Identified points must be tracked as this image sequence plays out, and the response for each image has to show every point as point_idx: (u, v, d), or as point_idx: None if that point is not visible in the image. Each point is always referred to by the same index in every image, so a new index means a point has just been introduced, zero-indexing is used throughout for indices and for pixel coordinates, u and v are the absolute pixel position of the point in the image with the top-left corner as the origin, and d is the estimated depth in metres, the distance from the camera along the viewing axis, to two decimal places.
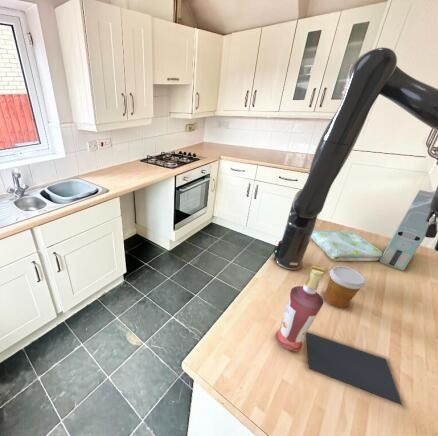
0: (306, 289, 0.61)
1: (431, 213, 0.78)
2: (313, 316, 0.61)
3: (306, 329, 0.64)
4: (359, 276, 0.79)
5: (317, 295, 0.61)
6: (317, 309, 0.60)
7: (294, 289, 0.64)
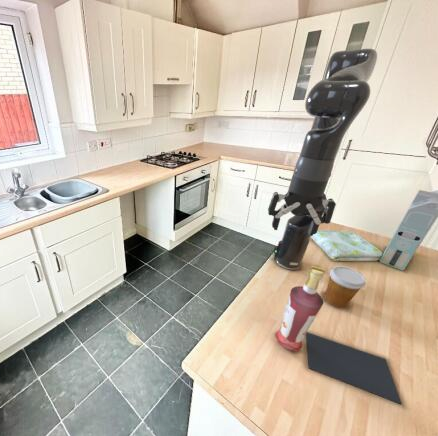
0: (306, 289, 0.61)
1: None
2: (313, 316, 0.61)
3: (306, 329, 0.64)
4: (359, 276, 0.79)
5: (317, 295, 0.61)
6: (317, 309, 0.60)
7: (294, 289, 0.64)
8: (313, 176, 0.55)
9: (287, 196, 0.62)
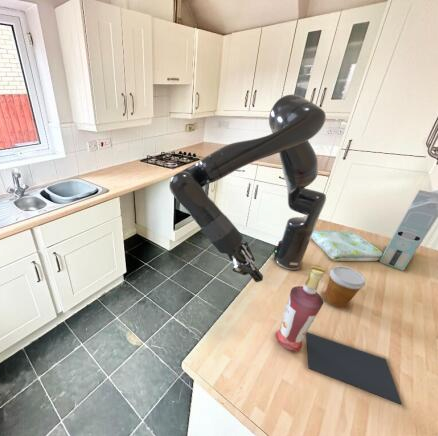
0: (306, 289, 0.61)
1: (244, 266, 0.62)
2: (313, 316, 0.61)
3: (306, 329, 0.64)
4: (359, 276, 0.79)
5: (317, 295, 0.61)
6: (317, 309, 0.60)
7: (294, 289, 0.64)
8: None
9: None
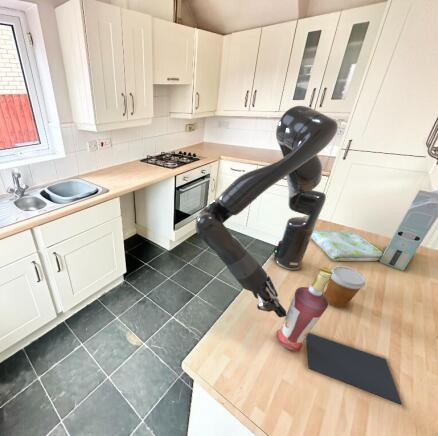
0: (312, 290, 0.60)
1: (269, 304, 0.64)
2: (317, 318, 0.61)
3: (308, 330, 0.64)
4: (359, 276, 0.79)
5: (322, 297, 0.61)
6: (322, 311, 0.60)
7: (299, 290, 0.63)
8: None
9: None
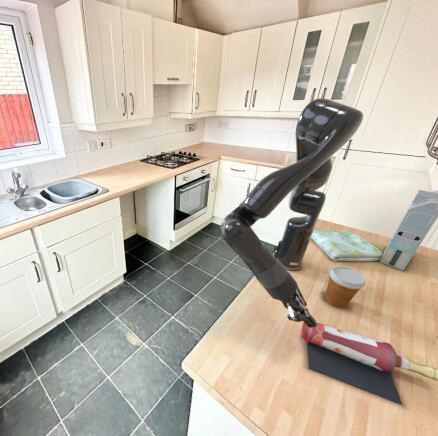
0: (405, 360, 0.61)
1: (300, 314, 0.61)
2: (373, 362, 0.62)
3: (346, 352, 0.65)
4: (359, 276, 0.79)
5: None
6: (387, 368, 0.61)
7: None
8: None
9: None
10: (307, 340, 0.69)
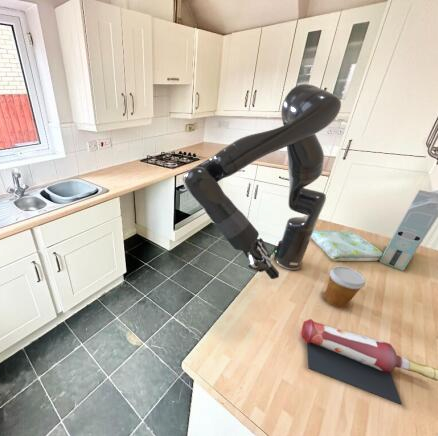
0: (405, 360, 0.61)
1: (260, 262, 0.61)
2: (373, 362, 0.62)
3: (346, 352, 0.65)
4: (359, 276, 0.79)
5: None
6: (387, 368, 0.61)
7: None
8: None
9: None
10: (307, 340, 0.69)
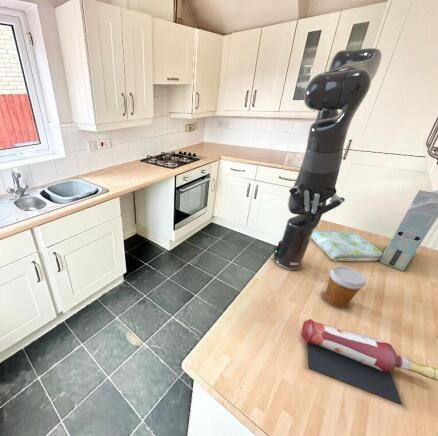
0: (405, 360, 0.61)
1: None
2: (373, 362, 0.62)
3: (346, 352, 0.65)
4: (359, 276, 0.79)
5: None
6: (387, 368, 0.61)
7: None
8: (311, 168, 0.57)
9: (298, 185, 0.65)
10: (307, 340, 0.69)
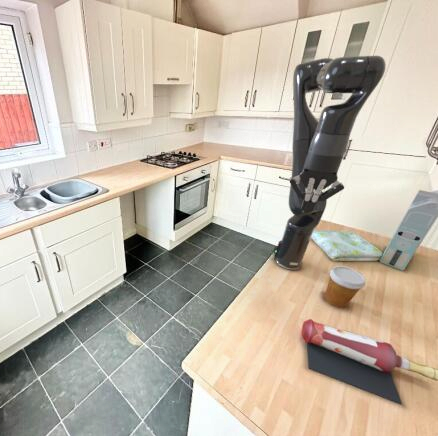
0: (405, 360, 0.61)
1: (330, 188, 0.65)
2: (373, 362, 0.62)
3: (346, 352, 0.65)
4: (359, 276, 0.79)
5: None
6: (387, 368, 0.61)
7: None
8: (327, 151, 0.58)
9: (300, 175, 0.65)
10: (307, 340, 0.69)
